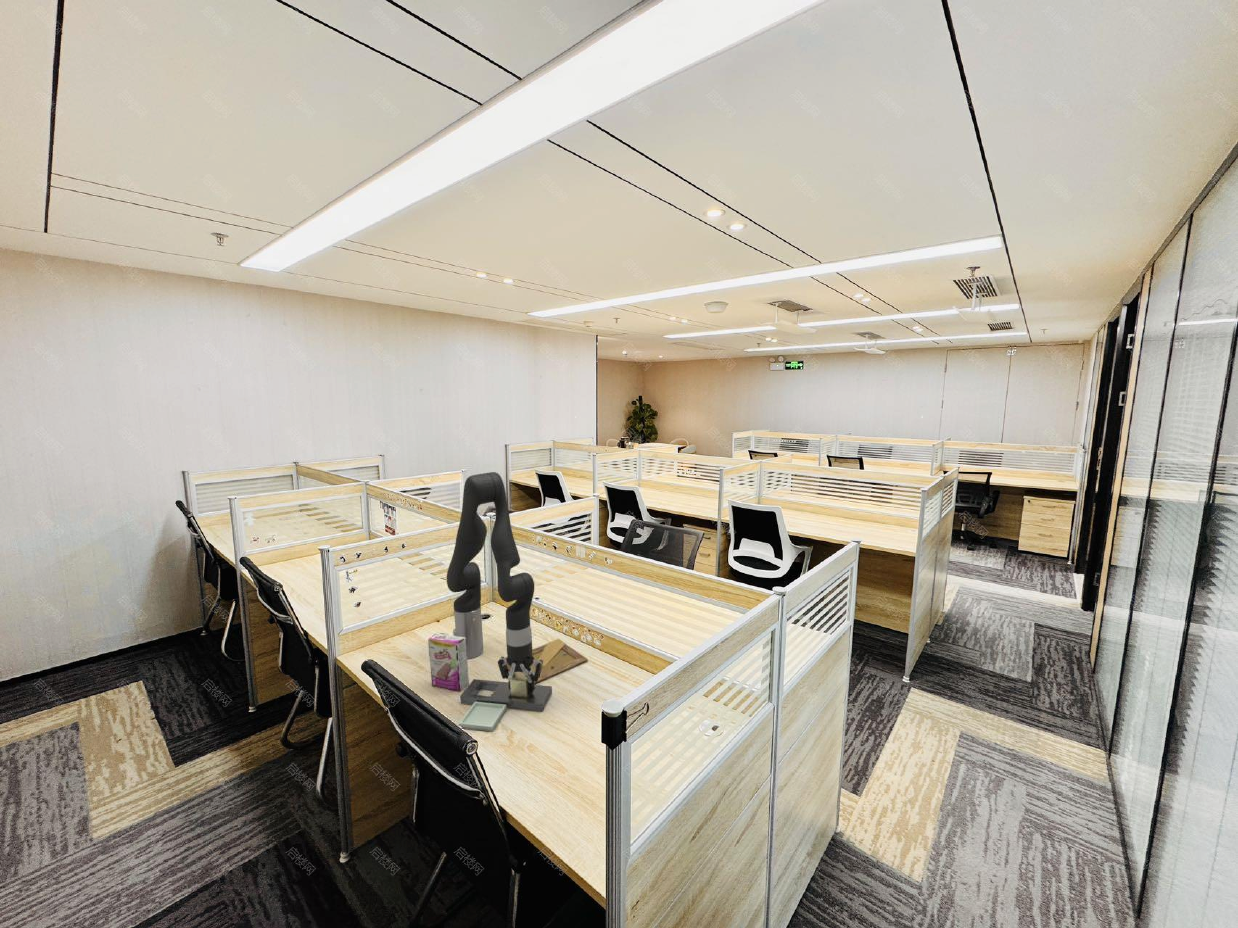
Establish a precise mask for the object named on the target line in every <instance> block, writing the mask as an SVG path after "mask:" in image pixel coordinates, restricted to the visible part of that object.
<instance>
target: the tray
mask: <svg viewBox="0 0 1238 928" xmlns="http://www.w3.org/2000/svg"><path fill="white" fill-rule="evenodd" d="M507 710H508V708H507V707H506V705H504V704H494V703H484V702H474V704H473V705H471V707H469V709H468V711H466V713H465V714H464V715H463V716H462V718H461V720H460V721H459V722H458V727H459V726H461V727H462V728H463V730H474V731H481V732H491V733H493V731H494V730H495V728H496V727H497V726H498V724H499V722H500V721H501V719H502V718H503V716H504V714H505V713H506V711H507ZM462 728H461V729H462ZM466 728H467V729H466Z"/></svg>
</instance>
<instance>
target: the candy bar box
mask: <svg viewBox="0 0 1238 928" xmlns="http://www.w3.org/2000/svg"><path fill="white" fill-rule="evenodd" d="M427 642H428V644H427V645H428V654H429V663H430V665H429V666H430V667H429V668H430V677H431V678H430V679H431V686H432V687H433V686H434V687H438V688H442V689H446V690H451V691H456V692H462V691H463V690H464V689H466V688H467V687H468V686H469V684H470V681H469V669H468V668H469V667H468V659H467V650H466V638H465V637H460V636H454V635H453V634H448V633H443V632H436V633H435V634H433V635H432V636H430V637H429V638H428V639H427Z"/></svg>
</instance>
